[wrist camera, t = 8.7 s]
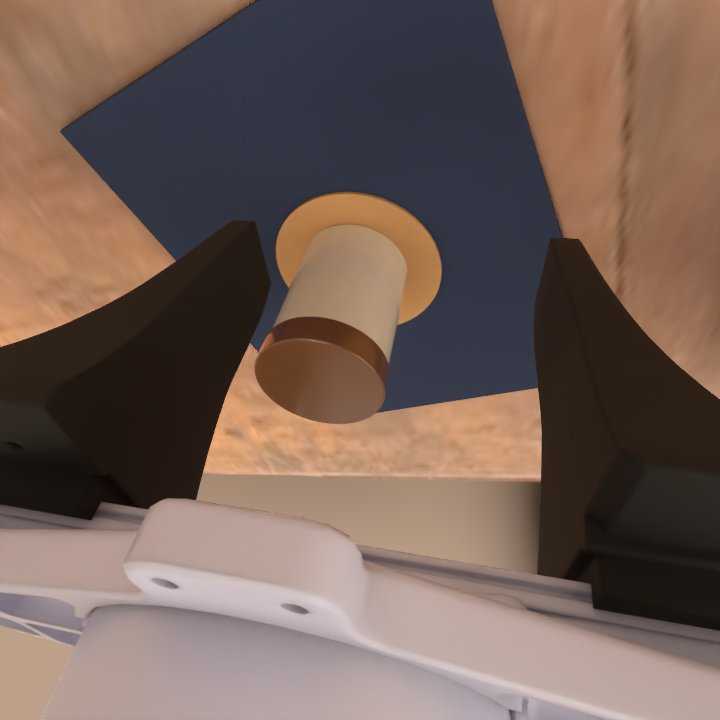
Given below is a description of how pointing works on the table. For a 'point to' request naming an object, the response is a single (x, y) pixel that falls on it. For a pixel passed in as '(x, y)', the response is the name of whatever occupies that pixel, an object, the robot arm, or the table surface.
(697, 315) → the table surface
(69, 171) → the table surface
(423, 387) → the desk pad
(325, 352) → the jar
